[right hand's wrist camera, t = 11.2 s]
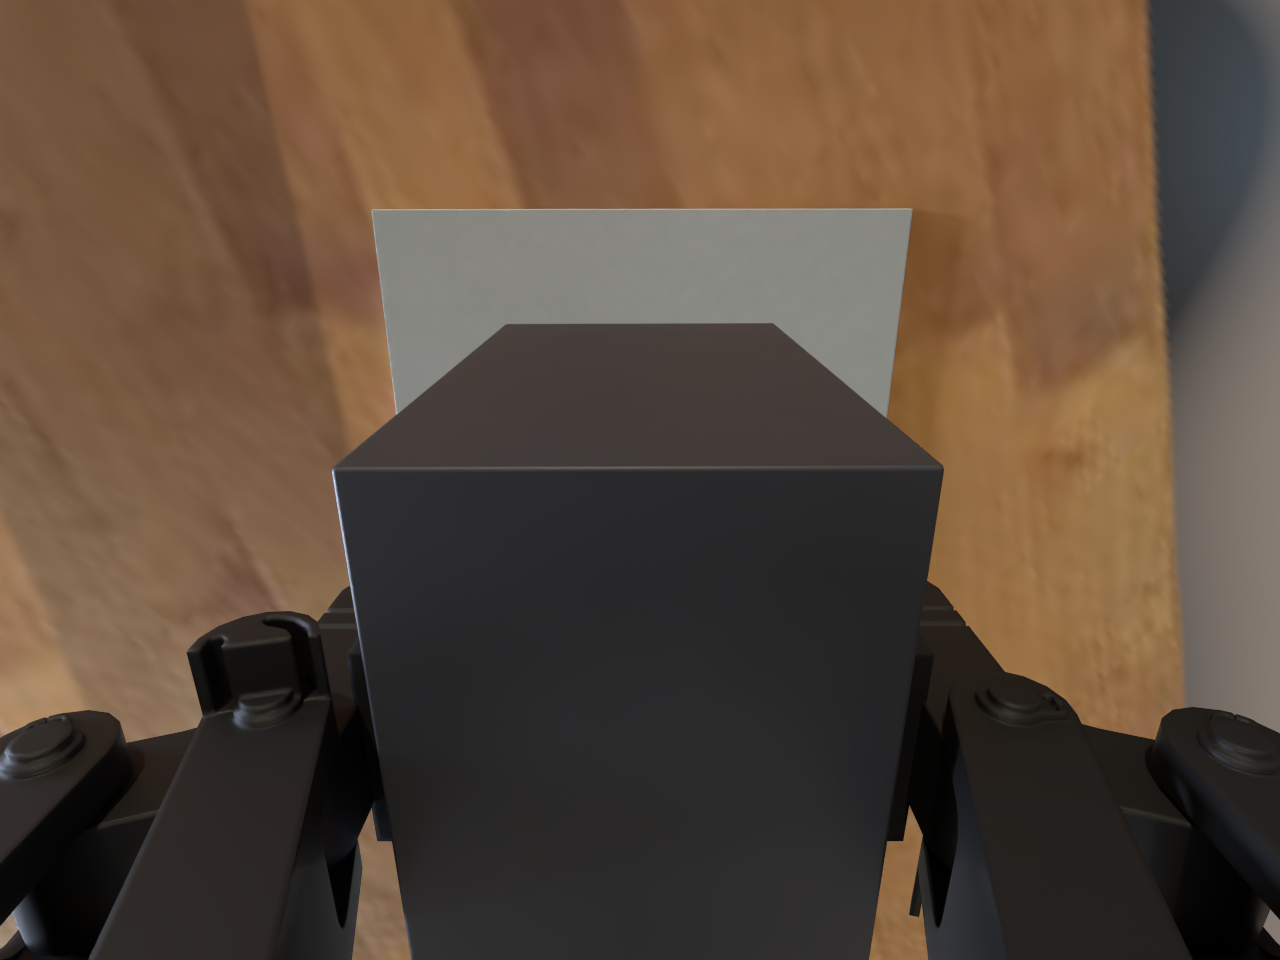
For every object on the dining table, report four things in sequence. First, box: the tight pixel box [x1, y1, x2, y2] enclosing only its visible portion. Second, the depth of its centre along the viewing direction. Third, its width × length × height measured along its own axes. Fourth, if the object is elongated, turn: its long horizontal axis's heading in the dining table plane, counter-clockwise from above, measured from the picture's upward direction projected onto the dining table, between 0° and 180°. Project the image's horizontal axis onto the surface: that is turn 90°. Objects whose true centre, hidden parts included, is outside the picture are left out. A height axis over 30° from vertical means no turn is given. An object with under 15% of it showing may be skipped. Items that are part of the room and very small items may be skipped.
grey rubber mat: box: [372, 209, 913, 418], centre depth 30 cm, size 18×36×1 cm, turn 0°
